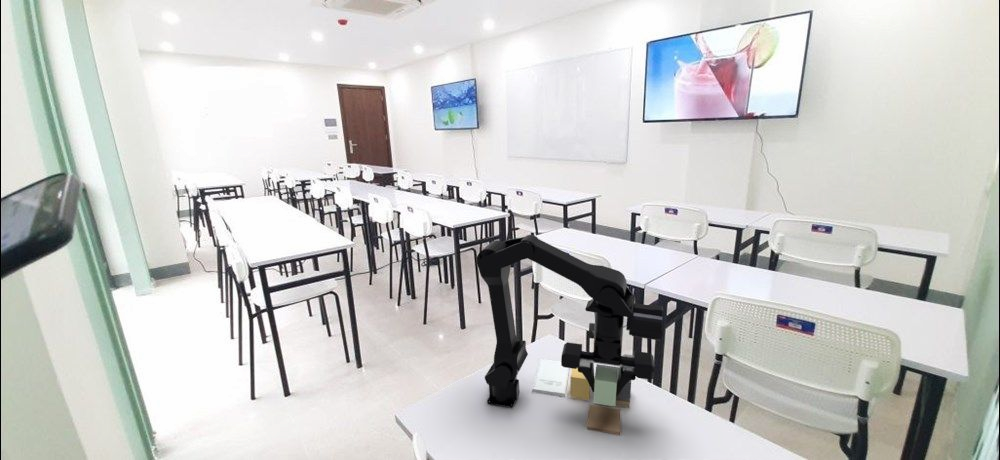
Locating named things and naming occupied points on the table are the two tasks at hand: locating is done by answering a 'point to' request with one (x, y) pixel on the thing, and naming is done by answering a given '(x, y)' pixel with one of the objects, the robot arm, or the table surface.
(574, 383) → the ochre part
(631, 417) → the table surface
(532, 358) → the table surface
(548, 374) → the external hard drive
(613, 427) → the walnut pad
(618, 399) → the block
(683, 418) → the table surface
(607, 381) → the green part
